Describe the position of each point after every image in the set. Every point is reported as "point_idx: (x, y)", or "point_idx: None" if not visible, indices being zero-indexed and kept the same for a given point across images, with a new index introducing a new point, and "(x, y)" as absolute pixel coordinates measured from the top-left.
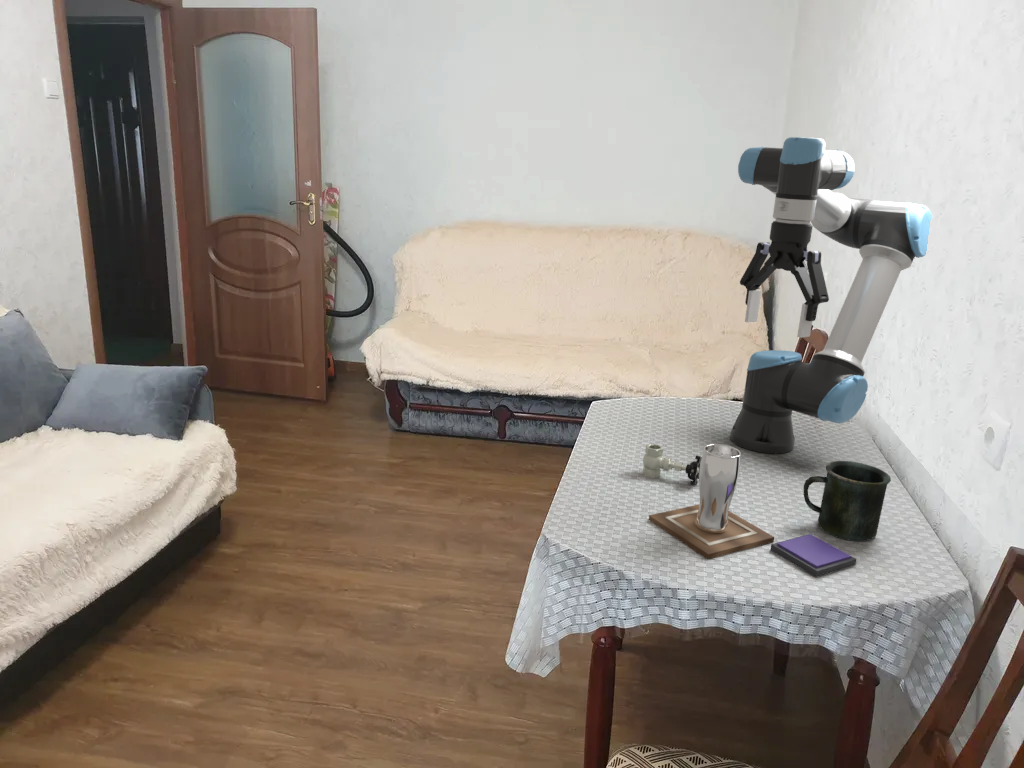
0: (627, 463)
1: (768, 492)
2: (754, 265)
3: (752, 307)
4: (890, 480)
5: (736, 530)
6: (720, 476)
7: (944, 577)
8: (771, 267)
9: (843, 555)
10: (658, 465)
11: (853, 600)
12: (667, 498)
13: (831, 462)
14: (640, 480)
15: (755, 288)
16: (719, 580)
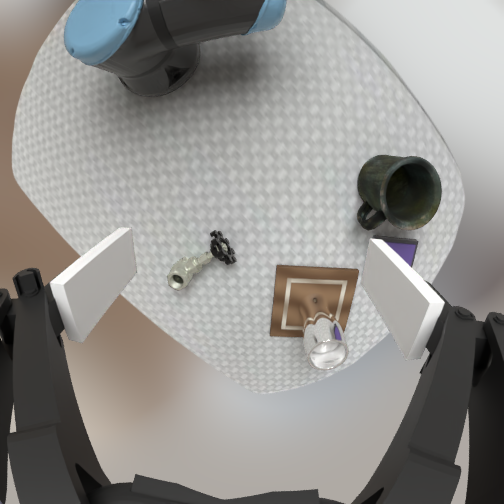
0: (151, 267)
1: (281, 176)
2: (7, 428)
3: (111, 285)
4: (440, 181)
5: (332, 292)
6: (336, 351)
7: (457, 192)
8: (100, 478)
9: (411, 250)
10: (192, 274)
11: None
12: (241, 291)
13: (382, 196)
14: (194, 285)
15: (52, 310)
16: (362, 343)
